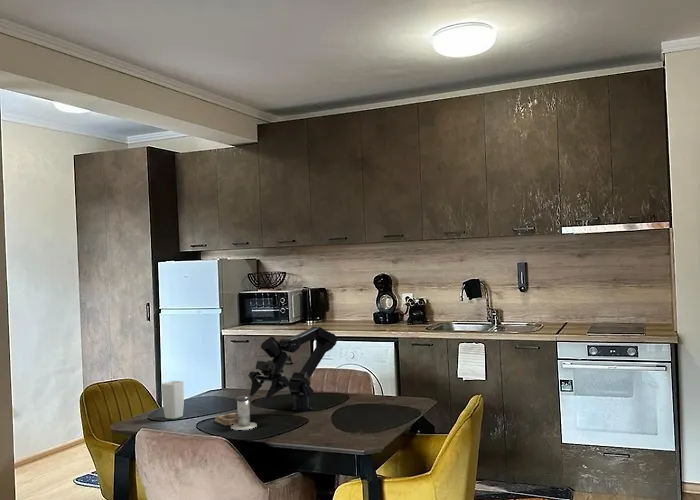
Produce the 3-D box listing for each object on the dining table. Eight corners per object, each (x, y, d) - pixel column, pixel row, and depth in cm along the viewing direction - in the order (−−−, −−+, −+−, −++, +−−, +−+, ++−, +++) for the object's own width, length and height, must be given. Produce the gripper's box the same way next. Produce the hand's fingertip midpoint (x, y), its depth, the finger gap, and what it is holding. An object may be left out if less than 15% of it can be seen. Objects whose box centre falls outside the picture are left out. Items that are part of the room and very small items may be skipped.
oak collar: (237, 417, 267) (237, 412, 267) (249, 421, 259) (249, 416, 259) (215, 421, 261) (215, 416, 261) (226, 425, 253) (226, 420, 253)
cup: (186, 416, 271) (185, 381, 272) (173, 420, 265) (172, 384, 265) (174, 415, 275) (172, 380, 275) (161, 419, 269) (159, 383, 269)
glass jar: (243, 423, 253) (242, 395, 253) (253, 424, 251) (251, 396, 251) (235, 426, 249) (234, 397, 249) (244, 427, 246) (243, 398, 247)
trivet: (249, 422, 257) (249, 421, 257) (261, 427, 249) (261, 425, 249) (226, 427, 251) (226, 425, 251) (238, 432, 243) (238, 430, 243)
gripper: (250, 351, 266) (231, 383, 258) (282, 354, 255) (263, 387, 246) (265, 367, 272) (247, 398, 264) (297, 370, 261) (279, 403, 252)
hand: (258, 396), depth 256 cm, fingers open, 9 cm apart
